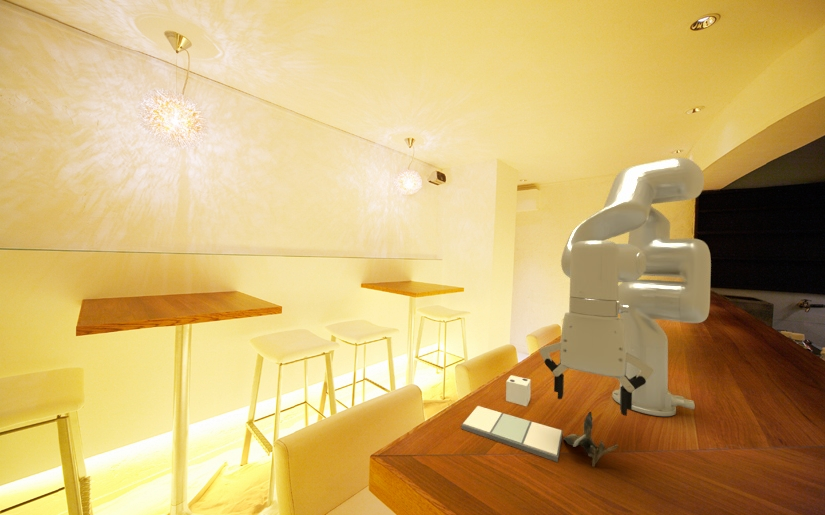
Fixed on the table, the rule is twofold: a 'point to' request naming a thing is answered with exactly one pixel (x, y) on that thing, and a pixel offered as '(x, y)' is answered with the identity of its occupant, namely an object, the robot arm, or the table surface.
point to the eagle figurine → (589, 441)
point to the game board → (515, 432)
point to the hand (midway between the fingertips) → (590, 404)
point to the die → (518, 390)
